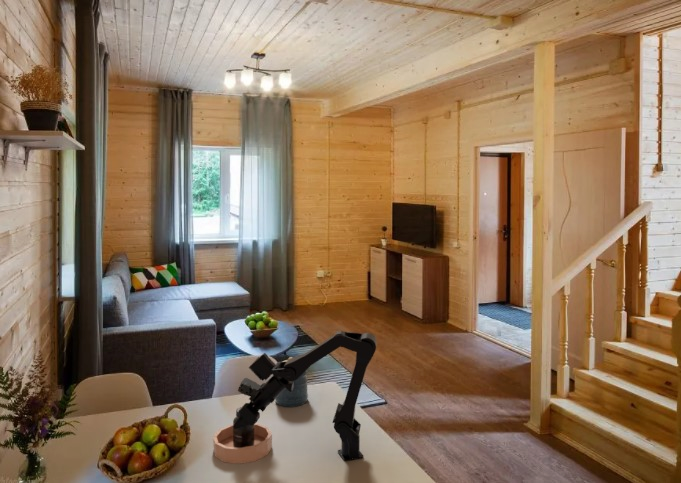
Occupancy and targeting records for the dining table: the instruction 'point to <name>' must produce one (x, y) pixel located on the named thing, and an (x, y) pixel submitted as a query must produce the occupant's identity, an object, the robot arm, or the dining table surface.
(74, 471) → the dining table surface
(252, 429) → the supplement bottle
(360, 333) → the robot arm
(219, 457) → the terracotta bowl
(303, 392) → the canister
